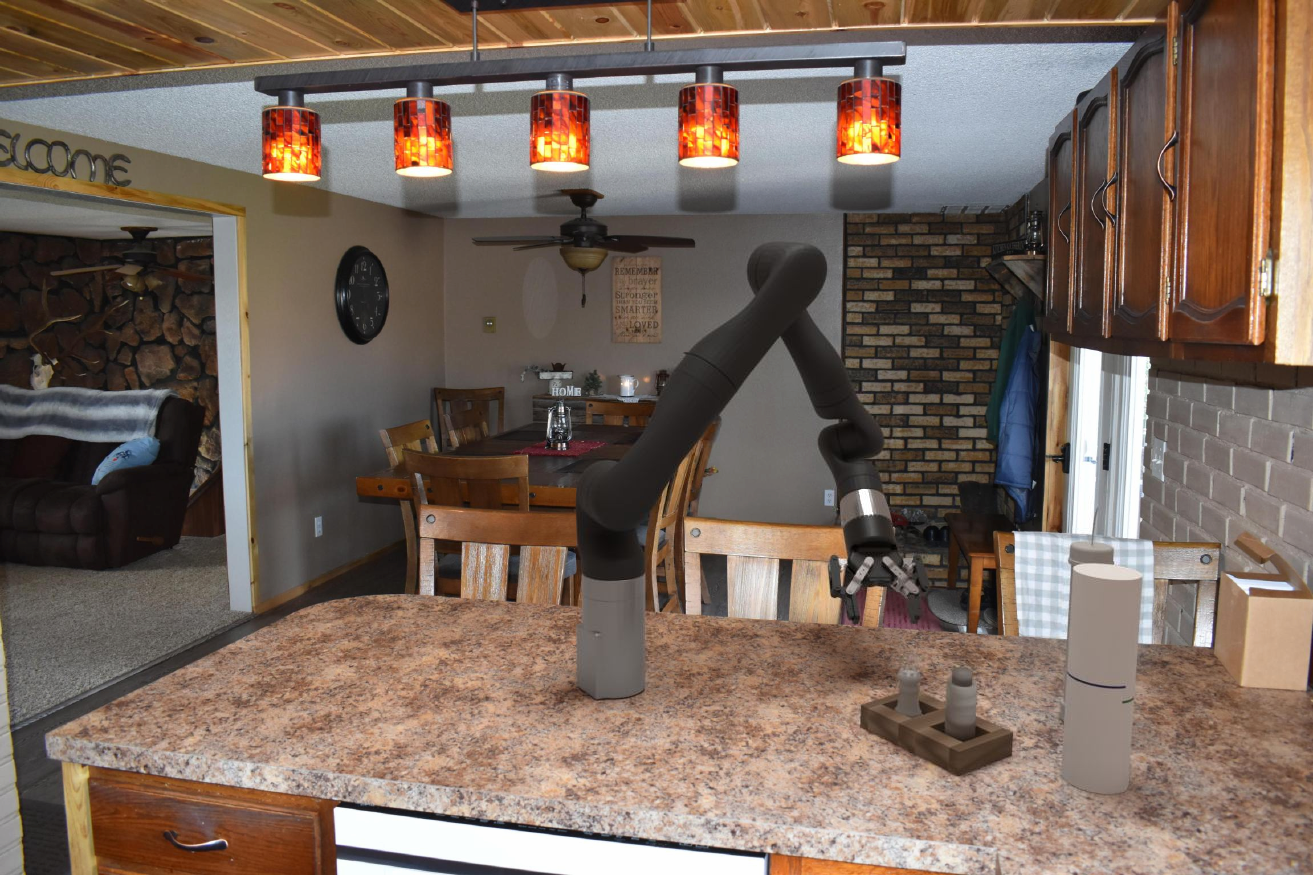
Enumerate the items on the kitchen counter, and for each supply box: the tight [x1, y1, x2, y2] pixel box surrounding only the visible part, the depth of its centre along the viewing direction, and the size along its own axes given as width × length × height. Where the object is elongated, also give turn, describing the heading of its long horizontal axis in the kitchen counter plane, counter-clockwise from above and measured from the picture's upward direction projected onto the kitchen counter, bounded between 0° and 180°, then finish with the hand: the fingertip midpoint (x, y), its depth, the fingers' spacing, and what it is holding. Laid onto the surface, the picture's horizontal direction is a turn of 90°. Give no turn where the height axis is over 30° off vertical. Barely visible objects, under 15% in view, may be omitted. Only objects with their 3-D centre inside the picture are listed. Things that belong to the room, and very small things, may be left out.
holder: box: [859, 666, 1014, 777], centre depth 117 cm, size 16×10×11 cm, turn 32°
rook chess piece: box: [895, 666, 923, 718], centre depth 121 cm, size 4×4×8 cm
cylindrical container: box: [1060, 563, 1144, 795], centre depth 106 cm, size 7×7×25 cm
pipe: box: [1059, 506, 1115, 723], centre depth 121 cm, size 6×6×30 cm
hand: (886, 621), depth 131 cm, fingers open, 8 cm apart
